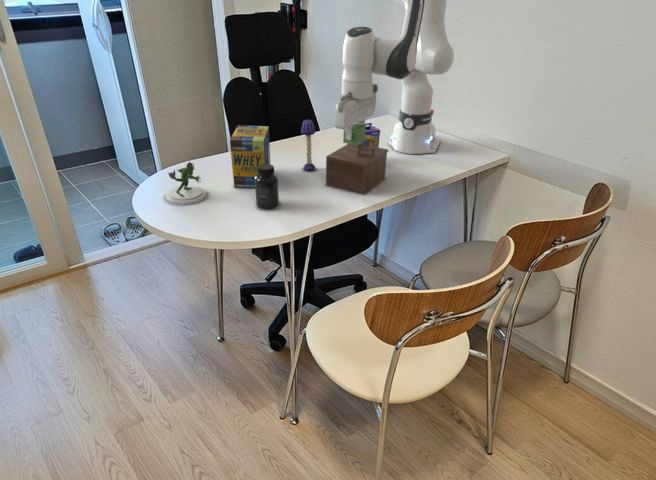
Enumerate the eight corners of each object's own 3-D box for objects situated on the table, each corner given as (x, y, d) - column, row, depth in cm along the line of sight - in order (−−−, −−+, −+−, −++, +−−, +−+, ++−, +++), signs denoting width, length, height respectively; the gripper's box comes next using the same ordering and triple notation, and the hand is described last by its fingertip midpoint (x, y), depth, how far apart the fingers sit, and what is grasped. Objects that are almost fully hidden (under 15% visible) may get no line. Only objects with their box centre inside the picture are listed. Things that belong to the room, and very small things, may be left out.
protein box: (233, 188, 157) (229, 139, 149) (241, 170, 170) (237, 124, 162) (266, 188, 157) (263, 140, 149) (271, 170, 170) (269, 125, 162)
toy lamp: (313, 172, 169) (313, 123, 160) (300, 171, 170) (299, 122, 160) (316, 167, 173) (316, 119, 164) (303, 166, 174) (303, 118, 164)
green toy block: (350, 138, 156) (351, 122, 153) (364, 141, 154) (365, 125, 151) (343, 142, 152) (343, 126, 150) (357, 145, 150) (358, 129, 148)
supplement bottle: (284, 205, 147) (282, 166, 141) (267, 212, 143) (264, 173, 136) (268, 198, 151) (266, 160, 144) (251, 205, 147) (248, 166, 140)
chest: (348, 170, 172) (349, 145, 167) (384, 178, 166) (387, 152, 161) (325, 185, 160) (326, 158, 155) (363, 194, 154) (365, 167, 149)
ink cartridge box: (354, 167, 174) (356, 126, 166) (347, 162, 178) (348, 121, 170) (378, 163, 178) (381, 122, 170) (370, 158, 182) (373, 118, 174)
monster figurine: (213, 197, 151) (209, 164, 146) (178, 208, 145) (172, 175, 139) (193, 185, 159) (188, 154, 153) (158, 195, 152) (152, 163, 146)
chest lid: (350, 144, 167) (351, 129, 164) (388, 151, 161) (389, 136, 159) (326, 158, 155) (326, 143, 152) (365, 167, 149) (366, 151, 147)
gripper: (349, 98, 136) (347, 147, 144) (380, 84, 151) (377, 129, 158) (329, 95, 138) (328, 143, 146) (362, 82, 153) (360, 126, 161)
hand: (354, 136), depth 152 cm, fingers closed on green toy block, 5 cm apart
